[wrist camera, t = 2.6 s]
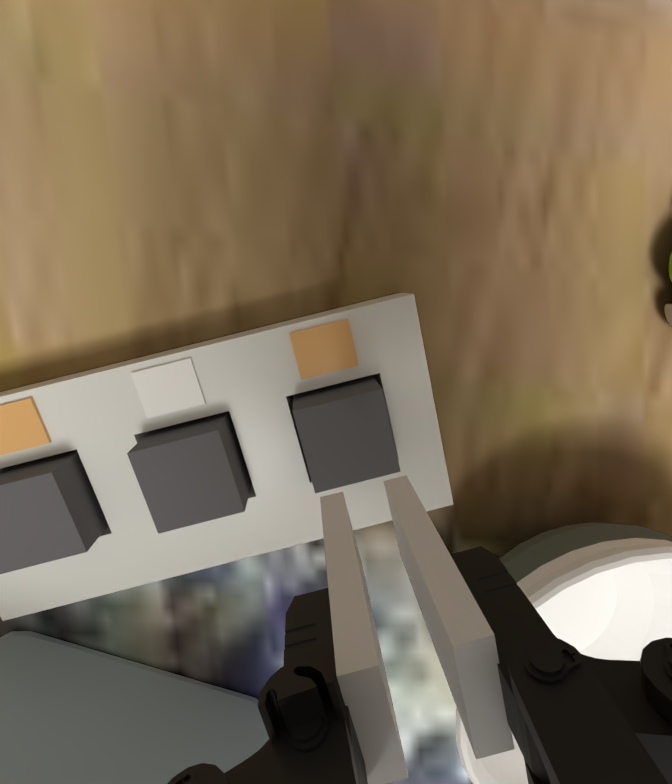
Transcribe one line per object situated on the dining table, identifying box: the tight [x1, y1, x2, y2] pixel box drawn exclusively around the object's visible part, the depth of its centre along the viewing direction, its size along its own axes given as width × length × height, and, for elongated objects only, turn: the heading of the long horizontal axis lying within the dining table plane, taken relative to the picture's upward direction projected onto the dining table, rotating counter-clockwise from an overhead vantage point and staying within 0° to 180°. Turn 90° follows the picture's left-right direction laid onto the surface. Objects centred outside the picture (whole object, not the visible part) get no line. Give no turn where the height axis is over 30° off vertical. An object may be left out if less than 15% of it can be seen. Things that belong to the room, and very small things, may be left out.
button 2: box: [0, 450, 108, 574], centre depth 23 cm, size 4×4×3 cm
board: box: [0, 293, 454, 621], centre depth 24 cm, size 26×12×3 cm, turn 103°
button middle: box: [127, 411, 252, 534], centre depth 23 cm, size 4×4×3 cm
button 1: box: [292, 375, 401, 493], centre depth 23 cm, size 4×4×3 cm
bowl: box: [456, 522, 672, 784], centre depth 27 cm, size 19×19×8 cm
